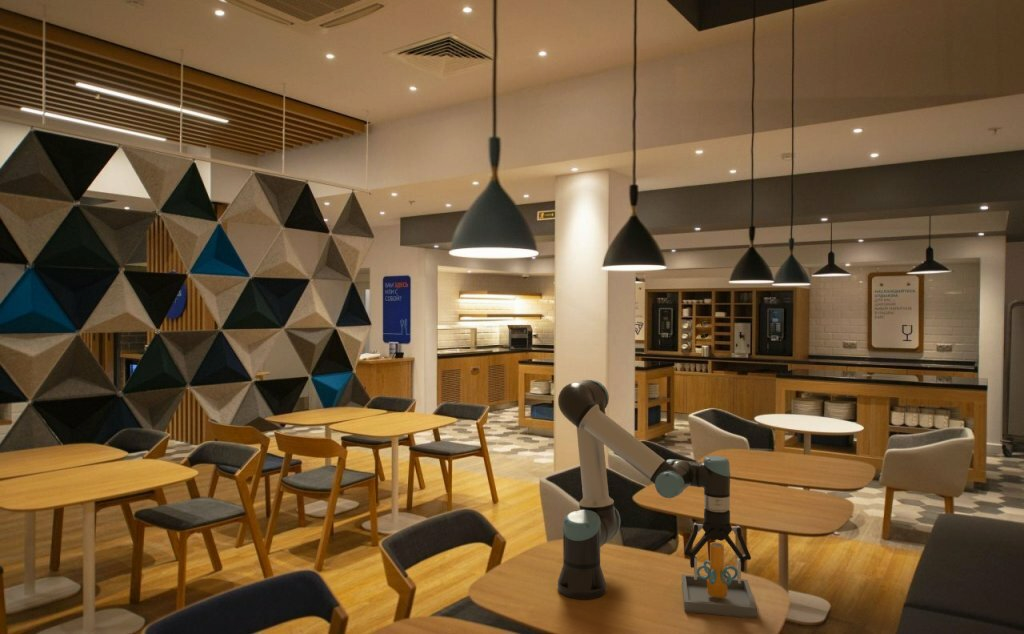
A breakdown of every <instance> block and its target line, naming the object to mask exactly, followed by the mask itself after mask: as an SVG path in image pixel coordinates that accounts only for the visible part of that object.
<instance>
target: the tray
mask: <svg viewBox="0 0 1024 634" xmlns="http://www.w3.org/2000/svg"><path fill="white" fill-rule="evenodd" d="M701 576H702V577H705V575H701ZM726 580H727V582H728V581H729V579H727V578H726ZM681 589H682V598H683V608H684V613H694V614H704V615H713V616H715V615H716V616H726V617H735V618H744V617H748V619H755V618H757V619H758V607H757V603H756V601H755V597H754V595H753V592H752V589H751V587H750V583H749V581H748V579H742V578H741V584H740V583H738V581H737V578H735V579H733V580H732V581H731V584H730V585H727V592H728V593H727V596H726V597H723V598H717V597H712V596H710V595H708V593H707V579H705V580H703V579H700V578H699V577H698V575H697V580H694V574H685V573H684V574H681Z"/></svg>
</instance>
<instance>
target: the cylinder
mask: <svg viewBox="0 0 1024 634" xmlns="http://www.w3.org/2000/svg"><path fill="white" fill-rule="evenodd" d="M724 551H725V545H724V544H723V543H722V542H716V541H713V542H710V543H709V560H705V561H704V562H703V565H700V566H698V567H697V576H698V577H699V578H700V579H703V580H705V579H707V593H708V595H710V596H712V597H717V598H723V597H726V596H727V593H728V592H727V585H730V584H731V581H732V580H733V579H737V567H735V566H734V565H727V566H726V567H725V552H724ZM707 564H708V565H709V566H707ZM702 569H704V572H705V573H706V576H705V575H704V576H705V577H702V576H703V575H701V574H700V572H701V570H702ZM730 569H731V570H733V571H734V575H733V576H732V575H731V573H730V572H729V571H728V570H730ZM726 578H727V579H729V581H728V582H727V580H726Z"/></svg>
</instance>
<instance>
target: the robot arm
mask: <svg viewBox="0 0 1024 634" xmlns="http://www.w3.org/2000/svg"><path fill="white" fill-rule="evenodd" d="M609 396H610V395H609V392H608V390H607V388H606V387H605V386H604V385H603V384H602V382H599V381H598V380H595V379H583V380H579V381H575V382H572V383H568V384H566V385H565V386H564V387H563V388H562V389H561V391H560V392H559V394H558V397H557V398H558V399H557V405H558V409H559V411H560V412H561V414H562V415H563V416H564V417H565V418H566V419H567V420H568V421H569V422H570V423H571V424H573V426H575V427H576V435H577V446H578V447H577V448H578V457H579V459H578V460H579V467H580V479H581V480H580V481H581V486H582V487H581V489H582V499H580V501H579V502H578V505H579V509H578V510H574V511H571V512H568V513H567V514H566V515H565V516H564V518H563V525H562V543H563V544H562V548H563V549H562V553H563V554H562V555H563V559H562V560H563V562H562V568H561V570H560V573H559V576H558V580H557V590H558V592H559V593H560V594H562V595H564V597H568V598H569V599H570V598H571V599H575V600H593V599H597V598H600V597H602V596H604V595H605V594H606V592H607V583H606V582H607V581H606V579H605V574H604V572H603V570H602V566H601V547H602V546H604V545H605V544H606V543H608V542H609V541H611V540H613V538H614V537H615V536H616V535H617V533H618V531H620V527H621V515H620V513H619V511H618V509H617V508H616V507H615V502H614V499H613V498H612V497H610V496H609V486H608V485H609V484H608V475H607V465H606V454H605V452H606V451H605V446H606V447H607V448H608V449H610V451H612V452H613V453H614V454H616V455H617V456H618V457H620V459H622V460H624V461H625V462H626V463H627V464H628V465H630V466H631V467H632V468H634V469H635V470H636V471H637V472H639V473H640V474H641V475H642V476H643V477H645V478H646V479H647V480H649V481H650V482H651V483H652V484H654V487H655V489H656V491H657V494H659V495H660V496H661V497H663V498H665V499H673V498H676V497H678V496H680V495H681V494H682V493H683V492H684V491H685V490H686V489H687V488H688V487H694V488H695V487H697V488H703V506H704V508H703V523H702V524H701V523H697V522H693V524H692V525H693V526H692V532H691V533H690V536H689V538H688V540H687V543H686V544H685V547H684V548H683V552H684V553H683V554H684V555H685V556H689V566H690V568H693V575H694V580H697V576H698V575H697V569H698V558H697V554H698V553H699V552H700V550H701V549H702V548H703V547H704V546H705V544H707V543H708V542H709V540H712V541H716V540H717V541H720V542H721V541H724V540H725V541H726V543H727V544H728V545H729V546H730V548H731V549H732V551H733V552H734V553H735V555H736V556H737V557H738V558H736V569H737V577H736V579H737V581H738V583H740V584H741V579H742V572H745V570H746V567H745V563H746V561H750V560H752V556H751V553H750V551H749V550H748V547H747V545H746V542H745V540H744V538H743V536H742V528H741V526H740V525H738V524H737V525H736V526H731V511H730V508H731V493H730V492H731V472H730V471H731V469H730V460H729V459H728V458H726V457H723V456H718V455H709V456H705V457H704V458H703V462H701V461H700V462H699V461H690V460H684V459H683V460H682V459H678V458H676V459H673V458H672V459H671V458H669V459H666V460H665V459H664V458H663V457H661V456H660V455H659V454H657V452H655V451H654V450H652V449H651V448H650V447H648V446H647V445H646V444H645V443H644V442H642V441H640V439H638V438H637V437H635V436H634V435H633V434H631V433H630V432H629V431H628V430H626V429H625V428H624V427H622V426H621V425H619V424H618V423H617V422H616V421H614V420H613V419H612V418H610V417H609V416H608V415H607V414H606V408H607V407H608V405H609V399H610V398H609ZM701 530H703V532H704V533H703V536H701V538H700V539H699V541H697V543H696V544H695V545H694V542H695V540H696V538H697V536H698V533H699V532H701ZM732 531H733V533H734V534H735V535H737V538H738V541H739V543H740V545H741V548H742V550H743V552H744V554H743V553H742V552H741V550H740V549H739V548H738V546H737V545H736V544H735V542H734V541H733V540H732V538H731V537H730V536H729V535H730V534H731V532H732ZM693 545H694V546H693ZM692 547H693V548H692Z"/></svg>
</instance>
